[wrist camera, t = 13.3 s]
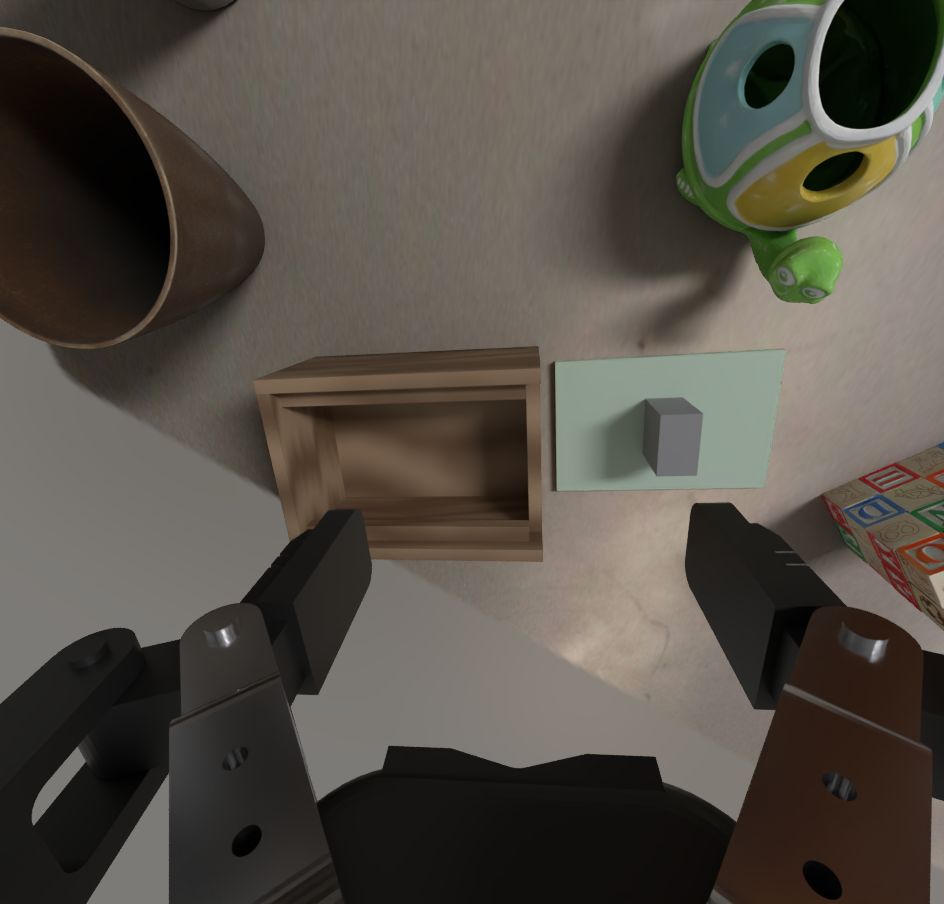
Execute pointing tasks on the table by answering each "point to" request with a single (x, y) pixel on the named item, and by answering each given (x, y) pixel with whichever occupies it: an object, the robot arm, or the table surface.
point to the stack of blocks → (899, 526)
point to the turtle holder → (808, 122)
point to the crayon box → (413, 450)
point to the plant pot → (106, 206)
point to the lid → (666, 420)
